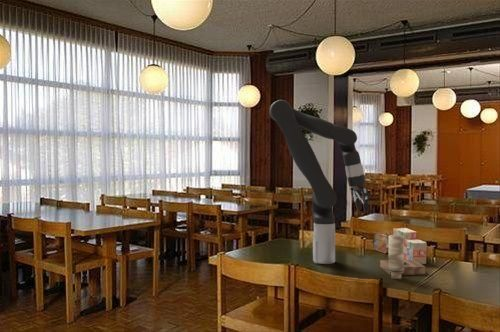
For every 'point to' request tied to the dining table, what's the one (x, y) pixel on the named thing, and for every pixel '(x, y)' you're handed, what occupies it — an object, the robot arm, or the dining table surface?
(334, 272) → the dining table surface
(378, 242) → the tin
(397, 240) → the dowel
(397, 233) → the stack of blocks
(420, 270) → the board
